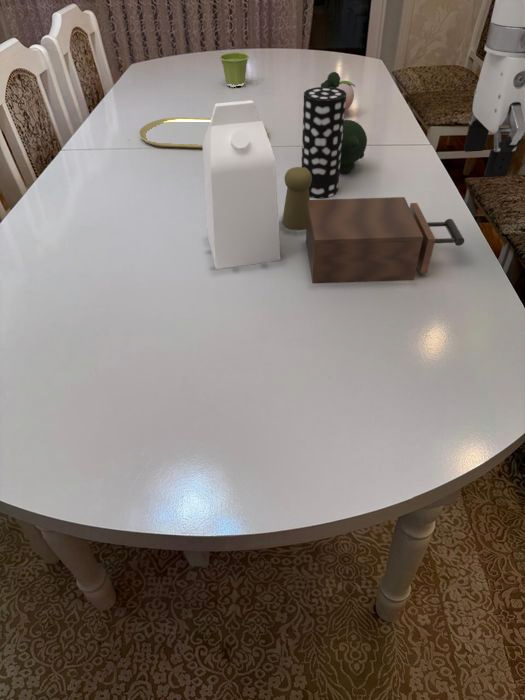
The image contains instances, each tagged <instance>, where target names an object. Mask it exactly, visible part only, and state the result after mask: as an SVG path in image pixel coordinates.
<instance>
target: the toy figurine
mask: <svg viewBox="0 0 525 700" xmlns="http://www.w3.org/2000/svg"><path fill="white" fill-rule="evenodd" d="M340 82H341V77H340V74H339V73H338V72H336V71H332V72H330V73H329V74H328V75H327V78H326V79H325V81H323V82H322V83H321V84H320V87H333V88H337V87H338V86H339V83H340ZM367 144H368V137H367V134H366V131H365V129H364V127H363V126H362V125H361V124H359V122H357V121H356V120H351V119H344V126H343V138H342V149H341V160H340V172H339V173H341V174H347V172H348V173H350V172H352V171H354V169H355V167H356V164H355V162H357V161H358V160H360V159H363V158H364V157H365V152H366V148H367V146H368V145H367ZM345 172H346V173H345Z"/></svg>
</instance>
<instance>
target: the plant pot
mask: <svg viewBox="0 0 525 700" xmlns="http://www.w3.org/2000/svg"><path fill="white" fill-rule="evenodd" d="M249 57H250V56H249V54H247V53H245V52H227V53H223V54H221V55H219V59H220V60H221V64H222V67H223V73H224V78H225V84H226V83H227V84H232V85H233V84H234V85H238V84H242V83H244V82H245V83H246V73H247V65H248V60H249ZM227 87H228V88H230V89H231V88H232V89H237V87H235V88H234V87H229V86H227ZM243 87H244V86H241V87H240V88H243Z"/></svg>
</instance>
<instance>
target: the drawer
mask: <svg viewBox="0 0 525 700" xmlns="http://www.w3.org/2000/svg"><path fill="white" fill-rule="evenodd" d="M409 208H410V210H411V212H412V214H413V216H414V218H415V220H416V222H417V224H418V227H419V229H420V231H421V233H422V235H423V241H422V245H421V249H420V253H419V258H418V262H417V266H416V268H417V270H418V271H419V274H427V273H428V271H429V267H430V263H431V260H432V258H431V257H432V255H433V251H434V247H435V244H454V245H455V246H457V247H460V246H462V245H464V243H465V238H464V236H463V235H462V233H461V231H460V230H459V228H458V226H457V225H456V222H455V221H454V220H453V219H452V218H447V219H445V220H444V221H434V222H433V221H432V222H430V221H429V222H428V221H427V219H426V217H425V215H424V213H423V211H422V210H421V208H420V205H419V204H418V202H410V204H409ZM433 227H434V228H435V227H445V228H446V230H447V232H448V234H449V236H450V237H447V238H446V237H445V238H436V237H435V235H434V233H433V231H432V229H431V228H433Z"/></svg>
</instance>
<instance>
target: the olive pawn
mask: <svg viewBox="0 0 525 700" xmlns="http://www.w3.org/2000/svg"><path fill="white" fill-rule="evenodd" d="M311 181H312V175H311V173H310V171H309V170H308V169H306V168H303V167H301V166H295V167H291V168H289V169H288V170H287V171H286V172H285V175H284V184H285V186H286V187H287V188H286V195H285V201H284V208H283V213H282V220H281V223H282V225H283V227H285V228H286V229H289V230H292V231H301V230H305V229H306V226H307V205H308V204H307V203H308V200H311V199H310V198H311V197H309V186H310V185H311Z"/></svg>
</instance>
